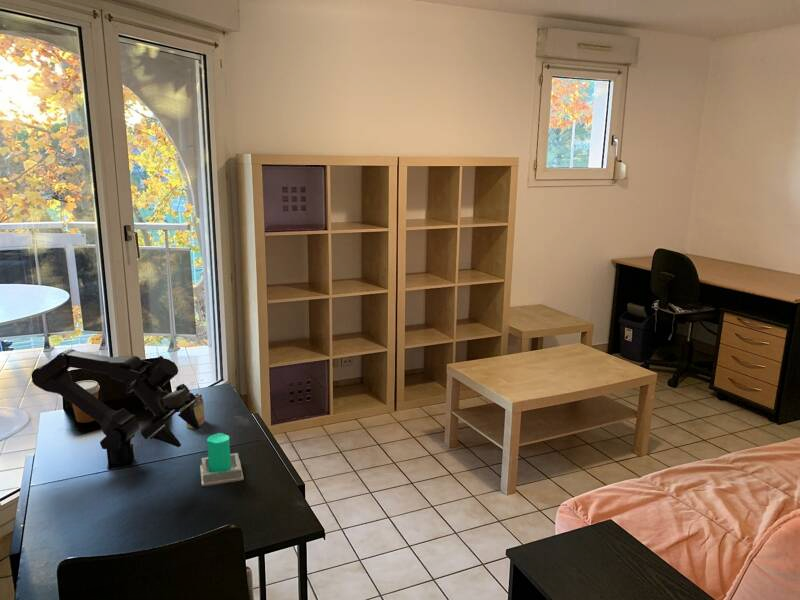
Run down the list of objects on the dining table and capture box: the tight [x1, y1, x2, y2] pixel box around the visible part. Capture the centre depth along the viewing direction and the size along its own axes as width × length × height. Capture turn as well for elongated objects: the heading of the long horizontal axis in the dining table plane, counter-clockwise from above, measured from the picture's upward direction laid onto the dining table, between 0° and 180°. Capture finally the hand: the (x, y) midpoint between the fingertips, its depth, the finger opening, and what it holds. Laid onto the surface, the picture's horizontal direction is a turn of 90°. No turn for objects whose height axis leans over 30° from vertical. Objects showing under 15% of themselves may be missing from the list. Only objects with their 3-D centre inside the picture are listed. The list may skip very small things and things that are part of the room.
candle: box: [206, 432, 231, 473], centre depth 168 cm, size 6×6×12 cm
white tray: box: [199, 452, 245, 488], centre depth 172 cm, size 11×17×4 cm, turn 20°
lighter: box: [185, 393, 206, 429], centre depth 199 cm, size 7×4×10 cm, turn 158°
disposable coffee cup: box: [71, 379, 101, 424], centre depth 201 cm, size 10×10×12 cm
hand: (189, 437), depth 170 cm, fingers open, 9 cm apart
